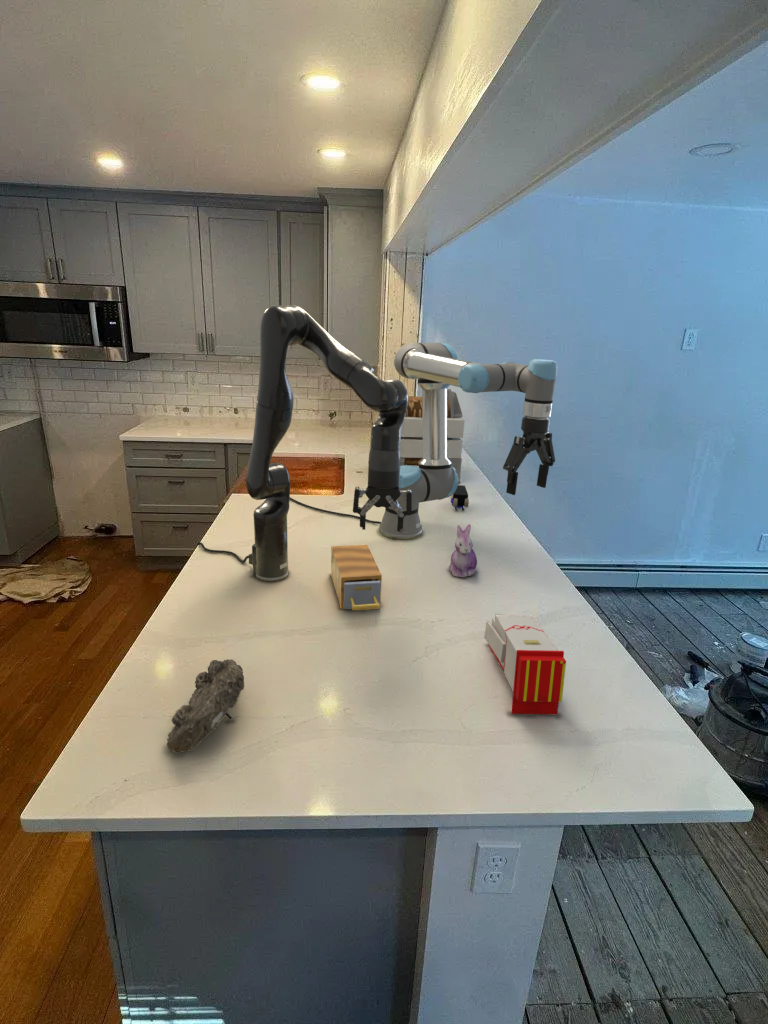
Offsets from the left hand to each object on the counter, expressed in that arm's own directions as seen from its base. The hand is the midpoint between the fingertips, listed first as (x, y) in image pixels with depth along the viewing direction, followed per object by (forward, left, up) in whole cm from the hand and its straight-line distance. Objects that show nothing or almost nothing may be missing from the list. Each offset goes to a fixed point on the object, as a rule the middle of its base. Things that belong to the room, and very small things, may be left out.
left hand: (381, 529), depth 140 cm
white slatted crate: (-20, +135, -23) cm, 138 cm away
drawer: (-7, +5, -22) cm, 24 cm away
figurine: (+17, +33, -23) cm, 44 cm away
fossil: (-18, -49, -23) cm, 57 cm away
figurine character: (+6, +92, -23) cm, 95 cm away
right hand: (+33, +38, +3) cm, 50 cm away
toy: (+37, -14, -23) cm, 46 cm away
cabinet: (-10, +10, -23) cm, 27 cm away
